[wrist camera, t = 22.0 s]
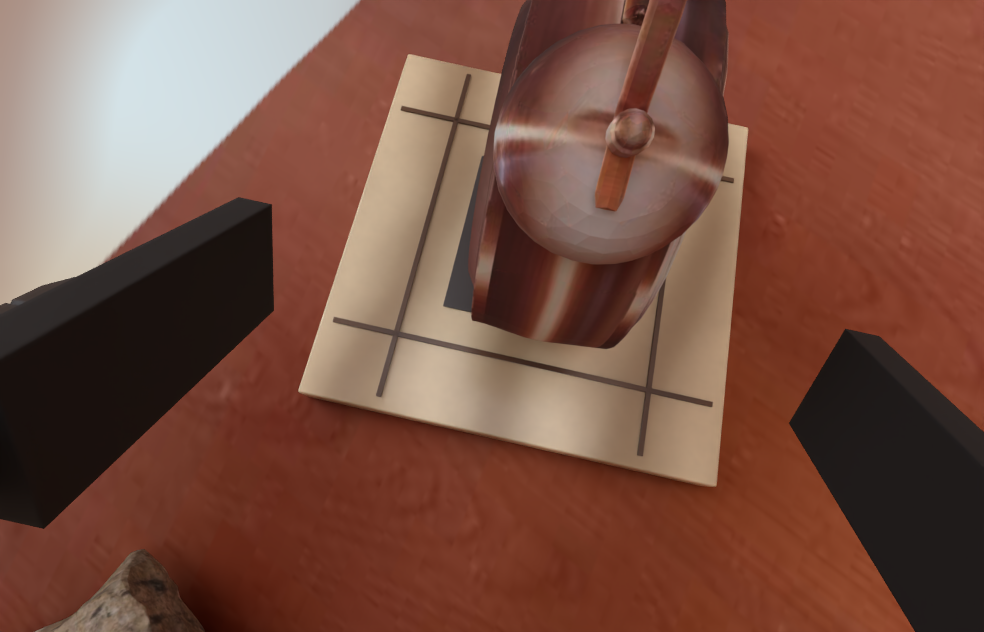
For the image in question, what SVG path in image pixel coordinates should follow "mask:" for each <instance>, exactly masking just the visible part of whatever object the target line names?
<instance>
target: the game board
mask: <svg viewBox="0 0 984 632" xmlns="http://www.w3.org/2000/svg"><path fill="white" fill-rule="evenodd" d="M500 78H501V74H498V73H494V72H489V71H484V70H480V69H475V68H471V67H466V66H461V65H457V64H452V63H448V62H443V61H438V60H434V59H429V58H425V57H420V56H415V55H411V54H409V55H408V56H407V59H406V62H405V66H404V69H403V72H402V75H401V78H400V81H399V84H398V87H397V90H396V93H395V96H394V99H393V102H392V105H391V108H390V111H389V114H388V118H387V121H386V124H385V127H384V130H383V133H382V136H381V139H380V142H379V145H378V148H377V151H376V154H375V157H374V160H373V163H372V166H371V170H370V173H369V176H368V179H367V182H366V185H365V188H364V191H363V194H362V197H361V200H360V203H359V206H358V209H357V212H356V215H355V218H354V221H353V225H352V228H351V231H350V234H349V237H348V240H347V243H346V246H345V249H344V252H343V255H342V258H341V261H340V264H339V267H338V270H337V273H336V277H335V280H334V283H333V286H332V289H331V292H330V295H329V298H328V301H327V304H326V307H325V310H324V313H323V316H322V319H321V322H320V325H319V328H318V332H317V335H316V338H315V341H314V344H313V347H312V350H311V353H310V356H309V359H308V362H307V365H306V368H305V371H304V374H303V377H302V380H301V384H300V387H299V390H298V392H299V393H301V394H303V395H306V396H308V397H312V398H317V399H321V400H325V401H330V402H334V403H339V404H343V405H347V406H352V407H356V408H361V409H365V410H369V411H374V412H378V413H383V414H387V415H391V416H396V417H400V418H405V419H409V420H413V421H418V422H422V423H427V424H431V425H435V426H440V427H444V428H449V429H453V430H457V431H462V432H466V433H471V434H475V435H479V436H484V437H488V438H493V439H497V440H501V441H506V442H510V443H515V444H519V445H523V446H528V447H532V448H537V449H541V450H545V451H550V452H554V453H559V454H563V455H567V456H572V457H576V458H581V459H585V460H589V461H594V462H598V463H602V464H607V465H611V466H616V467H620V468H624V469H629V470H633V471H638V472H642V473H646V474H651V475H655V476H660V477H664V478H668V479H673V480H677V481H682V482H686V483H690V484H695V485H699V486H707V487H716V485H717V474H718V463H719V452H720V440H721V429H722V418H723V407H724V395H725V384H726V373H727V362H728V350H729V339H730V328H731V317H732V305H733V294H734V283H735V272H736V260H737V249H738V238H739V227H740V215H741V204H742V193H743V182H744V171H745V159H746V148H747V137H748V128H747V127H742V126H738V125H733V124H728V134H729V146H728V154H727V160H726V164H725V168H724V172H723V175H722V178H721V180H720V183H719V186H718V188H717V191H716V192H715V194H714V196H713V198H712V199H711V201H710V203H709V205H708V206H707V208H706V209H705V210H704V212H703V213H702V214H701V216H700V217H699V218H698V220H697V221H696V222H695V223H694V224H693V225H691V226H690V227H689V228H688V229H687V230H686V233H685V235H684V238H683V241H682V243H681V245H680V248H679V250H678V252H677V254H676V257H675V259H674V261H673V264H672V266H671V268H670V270H669V273H668V275H667V277H666V279H665V280H664V282H663V284H662V286H661V288H660V290H659V292H658V293H657V295H656V297H655V299H654V301H653V302H652V304H651V305H650V307H649V308H648V309H647V311H646V312H645V314H644V315H643V317H642V318H641V319H640V320H639V321H638V322H637V323H636V324H635V325H634V326H633V327H632V328H631V330H630V331H629V332H628V334H627V335H626V336H625V337H624V338H623V339H622V340H621V341H620V342H619V343H618V344H617V345H616V346H615V347H613V348H609V349H601V348H592V347H584V346H575V345H567V344H559V343H550V342H543V341H539V340H534V339H529V338H525V337H522V336H519V335H516V334H513V333H510V332H507V331H505V330H502V329H499V328H496V327H493V326H490V325H487V324H484V323H480V322H476V321H472V318H471V309H472V299H473V290H474V286H473V283H472V280H471V278H470V275H469V272H468V259H469V247H470V238H471V229H472V222H473V216H474V209H475V203H476V197H477V190H478V185H479V179H480V174H481V169H482V163H483V158H484V153H485V147H486V142H487V137H488V132H489V128H490V123H491V118H492V114H493V109H494V104H495V100H496V95H497V91H498V87H499V82H500Z"/></svg>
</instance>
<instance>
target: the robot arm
mask: <svg viewBox="0 0 984 632" xmlns="http://www.w3.org/2000/svg"><path fill="white" fill-rule="evenodd" d="M273 311H274V295H273V246H272V204H267V203H262V202H258V201H253V200H249V199H244V198H239V197H238V198H236V199H234V200H232V201H230V202H228V203H226V204H224V205H222V206H220V207H218V208H216V209H214V210H212V211H210V212H208V213H206V214H204V215H202V216H200V217H197V218H195V219H193V220H191V221H189V222H187V223H185V224H183V225H181V226H179V227H177V228H175V229H173V230H171V231H169V232H167V233H165V234H163V235H161V236H159V237H157V238H155V239H153V240H151V241H149V242H147V243H144V244H142V245H140V246H138V247H136V248H134V249H132V250H130V251H128V252H126V253H124V254H122V255H120V256H118V257H116V258H114V259H112V260H110V261H108V262H106V263H104V264H102V265H100V266H98V267H96V268H94V269H91V270H89V271H87V272H85V273H83V274H81V275H79V276H77V277H73V278H70V279H66V280H62V281H58V282H54V283H50V284H47V285H43V286H40V287H38V288H36V289H34V290H32V291H30V292H28V293H26V294H24V295H22V296H19V297H17V298H15V299H13V300H12V302H11V304H8V303H5V304H2V305H0V519H3V520H7V521H12V522H16V523H21V524H25V525H30V526H34V527H39V528H43V529H44V528H45V527H46V526H47V525H48V524H50V523H51V522H52V521H53V520H54V519H55V518H56V517H57V516H58V515H59V514H60V513H61V512H62V511H63V510H64V509H65V508H66V507H67V506H68V505H70V504H71V503H72V502H73V501H74V500H75V499H76V498H77V497H78V496H79V495H80V494H81V493H82V492H83V491H84V490H85V489H86V488H87V487H88V486H90V485H91V484H92V483H93V482H94V481H95V480H96V479H97V478H98V477H99V476H100V475H101V474H102V473H103V472H104V471H105V470H106V469H107V468H108V467H110V466H111V465H112V464H113V463H114V462H115V461H116V460H117V459H118V458H119V457H120V456H121V455H122V454H123V453H124V452H125V451H126V450H127V449H128V448H130V447H131V446H132V445H133V444H134V443H135V442H136V441H137V440H138V439H139V438H140V437H141V436H142V435H143V434H144V433H145V432H146V431H147V430H148V429H150V428H151V427H152V426H153V425H154V424H155V423H156V422H157V421H158V420H159V419H160V418H161V417H162V416H163V415H164V414H165V413H166V412H167V411H168V410H170V409H171V408H172V407H173V406H174V405H175V404H176V403H177V402H178V401H179V400H180V399H181V398H182V397H183V396H184V395H185V394H186V393H187V392H188V391H190V390H191V389H192V388H193V387H194V386H195V385H196V384H197V383H198V382H199V381H200V380H201V379H202V378H203V377H204V376H205V375H206V374H207V373H208V372H210V371H211V370H212V369H213V368H214V367H215V366H216V365H217V364H218V363H219V362H220V361H221V360H222V359H223V358H224V357H225V356H226V355H227V354H228V353H230V352H231V351H232V350H233V349H234V348H235V347H236V346H237V345H238V344H239V343H240V342H241V341H242V340H243V339H244V338H245V337H246V336H247V335H248V334H250V333H251V332H252V331H253V330H254V329H255V328H256V327H257V326H258V325H259V324H260V323H261V322H262V321H263V320H264V319H265V318H266V317H267V316H268V315H270V314H271V313H272V312H273ZM789 424H790V426H791V427H792V429H793V431H794V432H795V434H796V436H797V437H798V439H799V441H800V442H801V444H802V446H803V447H804V449H805V451H806V452H807V454H808V456H809V457H810V459H811V460H812V462H813V464H814V465H815V467H816V469H817V470H818V472H819V474H820V475H821V477H822V479H823V480H824V482H825V484H826V485H827V487H828V489H829V490H830V492H831V493H832V495H833V497H834V498H835V500H836V502H837V503H838V505H839V507H840V508H841V510H842V512H843V513H844V515H845V517H846V518H847V520H848V522H849V523H850V525H851V527H852V528H853V530H854V531H855V533H856V535H857V536H858V538H859V540H860V541H861V543H862V545H863V546H864V548H865V550H866V551H867V553H868V555H869V556H870V558H871V560H872V561H873V563H874V564H875V566H876V568H877V569H878V571H879V573H880V574H881V576H882V578H883V579H884V581H885V583H886V584H887V586H888V588H889V589H890V591H891V593H892V594H893V596H894V598H895V599H896V601H897V602H898V604H899V606H900V607H901V609H902V611H903V612H904V614H905V616H906V617H907V619H908V621H909V622H910V624H911V626H912V627H913V629H914V631H915V632H984V432H983V431H982V430H981V429H980V428H979V427H977V426H976V425H975V424H974V423H973V422H972V421H971V420H970V419H969V418H968V417H967V416H966V415H964V414H963V413H962V412H961V411H960V410H959V409H958V408H957V407H956V406H955V405H954V404H952V403H951V402H950V401H949V400H948V399H947V398H946V397H945V396H944V395H943V394H942V393H940V392H939V391H938V390H937V389H936V388H935V387H934V386H933V385H932V384H931V383H930V382H928V381H927V380H926V379H925V378H924V377H923V376H922V375H921V374H920V373H919V372H918V371H916V370H915V369H914V368H913V367H912V366H911V365H910V364H909V363H908V362H907V361H906V360H904V359H903V358H902V357H901V356H900V355H899V354H898V353H897V352H896V351H895V350H894V349H893V348H891V347H890V346H889V345H888V344H887V343H886V342H885V341H884V340H883V339H882V338H881V337H879V336H876V335H871V334H866V333H862V332H857V331H853V330H848V329H845V330H844V332H843V334H842V335H841V337H840V339H839V340H838V342H837V344H836V345H835V347H834V349H833V350H832V352H831V354H830V355H829V357H828V359H827V360H826V362H825V364H824V365H823V367H822V369H821V370H820V372H819V374H818V376H817V377H816V379H815V381H814V382H813V384H812V386H811V387H810V389H809V391H808V392H807V394H806V396H805V397H804V399H803V401H802V402H801V404H800V406H799V407H798V409H797V411H796V412H795V414H794V416H793V417H792V419H791V421H790V422H789Z"/></svg>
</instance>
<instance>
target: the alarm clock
mask: <svg viewBox="0 0 984 632" xmlns="http://www.w3.org/2000/svg"><path fill="white" fill-rule="evenodd" d="M728 35H729V33H728V29H727V25H726V2H725V0H526V2H525V3H524V4H523V5H522V7H521V9H520V12H519V14H518V17H517V20H516V23H515V26H514V29H513V32H512V36H511V39H510V43H509V46H508V50H507V54H506V58H505V62H504V66H503V69H502V73H501V78H500V82H499V87H498V91H497V95H496V100H495V104H494V109H493V114H492V118H491V123H490V128H489V132H488V137H487V142H486V147H485V153H484V158H483V163H482V169H481V174H480V179H479V185H478V190H477V197H476V203H475V209H474V216H473V222H472V229H471V238H470V247H469V259H468V272H469V275H470V278H471V280H472V283H473V286H474V290H473V299H472V309H471V318H472V321H476V322H480V323H484V324H487V325H490V326H493V327H496V328H499V329H502V330H505V331H507V332H510V333H513V334H516V335H519V336H522V337H525V338H529V339H534V340H539V341H543V342H550V343H559V344H567V345H575V346H584V347H592V348H601V349H609V348H613V347H615V346H616V345H617V344H618V343H619V342H620V341H621V340H622V339H623V338H624V337H625V336H626V335H627V334H628V332H629V331H630V330H631V328H632V327H633V326H634V325H635V324H636V323H637V322H638V321H639V320H640V319H641V318H642V317H643V315H644V314H645V312H646V311H647V309H648V308H649V307H650V305H651V304H652V302H653V301H654V299H655V297H656V295H657V293H658V292H659V290H660V288H661V286H662V284H663V282H664V280H665V279H666V277H667V275H668V273H669V270H670V268H671V266H672V264H673V261H674V259H675V257H676V254H677V252H678V250H679V248H680V245H681V243H682V241H683V238H684V235H685V233H686V230H687V229H688V228H689V227H690V226H691V225H693V224H694V223H695V222H696V221H697V220H698V218H699V217H700V216H701V214H702V213H703V212H704V210H705V209H706V208H707V206H708V205H709V203H710V201H711V199H712V198H713V196H714V194H715V192H716V191H717V188H718V186H719V183H720V180H721V178H722V175H723V172H724V168H725V164H726V160H727V154H728V146H729V134H728V117H727V112H726V107H725V102H724V98H723V95H724V89H725V83H726V77H727V71H728Z"/></svg>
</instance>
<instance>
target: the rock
mask: <svg viewBox="0 0 984 632" xmlns="http://www.w3.org/2000/svg"><path fill="white" fill-rule="evenodd" d="M35 632H205V630H204V628H203V627H202V625H201V624H200V622H199V621H198V619H197V618H196V617H195V616H194V614H193V613H192V612H191V611H190V610H189V608H188V607H187V606H186V605H185V603H184V602H183V601H182V599H181V598H180V595H179V591H178V587H177V585H176V584H175V583H174V582H173V580H172V579H171V578H170V577H169V575H168V572H167V571H166V569H165V568H164V567H163V566H162V565H161V564H160V563H159V562H158V561H157V560H156V559H155V558H154V557H153V556H151V555H150V554H149V553H148V552H147V551H146V550H145V549H142V550H137V551H134V552H132V553H130V554H129V555H128V556H127V558H126V559H125V560H124V562H123V563H122V564H121V565H120V566H119V567H118V568H117V570H116V571H115V572H114V573H113V574H112V575H111V577H110V578H109V579H108V580H107V581H106V583H105V584H104V585H103V586H102V587H101V589H100V590H99V591H98V592H97V593H96V594H95V595H94V596H93V597H92V598H91V599H90V600H89V601H87V602H86V603H85V604H83V605H82V606H81V608H80V609H79V610H78V611H77V612H76V613H74V614H73V615H72V616H70V617H68V618H66V619H64V620H61V621H59V622H56V623H54V624H52V625H49V626H47V627H44V628H42V629H40V630H37V631H35Z"/></svg>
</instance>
